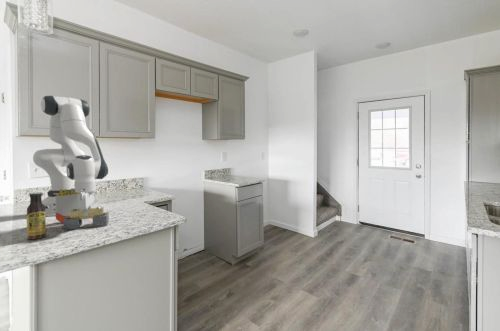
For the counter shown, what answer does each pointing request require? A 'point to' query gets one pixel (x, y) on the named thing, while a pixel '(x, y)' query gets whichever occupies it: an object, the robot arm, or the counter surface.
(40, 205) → the sauce bottle
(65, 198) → the french fries container
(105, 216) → the chain end right
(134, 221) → the counter surface
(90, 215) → the link
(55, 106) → the robot arm
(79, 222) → the chain end left
